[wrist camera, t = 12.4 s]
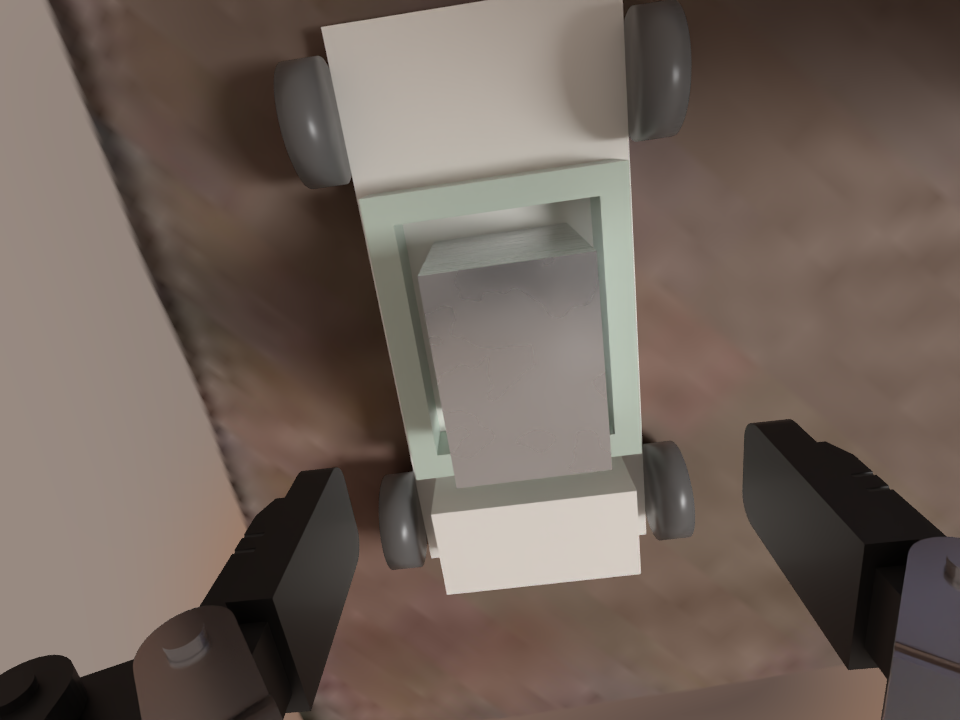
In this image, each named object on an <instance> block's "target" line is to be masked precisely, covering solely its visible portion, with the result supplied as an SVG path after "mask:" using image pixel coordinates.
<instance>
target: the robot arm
mask: <svg viewBox="0 0 960 720" xmlns="http://www.w3.org/2000/svg"><path fill="white" fill-rule="evenodd" d="M742 492H743V503H744V507H745V511H746V514H747V517H748V520H749V522H750V524H751V525H752V527H753V529H754V530H755V532H756V533H757V535H758V536H759V538H760V539H761V540H762V542H763V543H764V545H765V546H766V548H767V549H768V551H769V552H770V554H771V555H772V557H773V558H774V560H775V561H776V563H777V564H778V566H779V567H780V569H781V570H782V572H783V573H784V575H785V576H786V578H787V579H788V581H789V582H790V584H791V585H792V587H793V588H794V590H795V591H796V593H797V594H798V596H799V597H800V599H801V600H802V602H803V603H804V605H805V606H806V608H807V609H808V611H809V612H810V614H811V615H812V617H813V618H814V620H815V621H816V623H817V624H818V626H819V627H820V629H821V630H822V632H823V633H824V635H825V636H826V638H827V639H828V641H829V642H830V644H831V645H832V647H833V648H834V650H835V651H836V652H837V654H838V655H839V657H840V658H841V660H842V661H843V663H844V664H845V666H846V667H847V669H848V670H853V669H866V668H879V669H880V670H881V671H882V672H883V674H884V675H885V677H886V678H887V684H886V691H885V697H884V703H883V709H882V716H881V720H960V538H955V537H947V536H945V535H944V534H943V533H942V532H941V531H940V530H939V529H937V528H936V527H935V526H934V525H933V524H932V523H931V522H929V521H928V520H927V519H926V518H925V517H924V516H923V515H921V514H920V513H919V512H918V511H917V510H916V509H915V508H913V507H912V506H911V505H910V504H909V503H908V502H907V501H906V500H904V499H903V498H902V497H901V496H900V495H899V494H898V493H896V492H895V491H894V490H890V489H889V486H888V485H887V484H886V483H885V482H884V481H883V480H882V479H880V478H879V477H878V476H877V475H873V472H872V471H871V470H870V469H869V468H868V467H867V466H866V465H865V464H863V463H862V462H861V461H860V460H859V459H858V458H857V457H855V456H854V455H853V454H851V453H849V452H847V451H844V450H842V449H840V448H838V447H836V446H834V445H832V444H830V443H828V442H816V441H815V440H814V439H813V438H812V437H811V436H810V435H808V434H807V433H806V432H805V431H804V430H803V429H802V428H801V427H800V426H799V425H798V424H797V423H796V422H794V421H793V420H791V419H786V420H776V421H767V422H758V423H750V424H748V425H747V427H746V430H745V435H744V461H743V490H742ZM244 535H245V537H244V538H242V539H241V541H240V542H239V544H238V545H237V547H236V549H235V554H232V555H231V557H230V558H229V560H228V562H227V563H226V565H225V566H224V568H223V570H222V571H221V573H220V574H219V576H218V578H217V579H216V581H215V582H214V584H213V586H212V587H211V589H210V591H209V592H208V594H207V595H206V597H205V599H204V600H203V602H202V603H201V605H200V607H198V608H193V609H191V610H188V611H185V612H183V613H181V614H179V615H177V616H175V617H173V618H171V619H169V620H168V621H167V622H165V623H164V624H162V625H161V626H160V627H158V628H157V629H156V630H155V631H153V632H152V633H151V634H150V636H148V637H147V638H146V640H145V641H144V642H143V643H142V645H141V646H140V648H139V649H138V651H137V653H136V656H135V658H134V659H133V660H130V661H127V662H125V663H122V664H119V665H116V666H113V667H110V668H107V669H104V670H101V671H98V672H95V673H92V674H89V675H86V676H83V677H79V675H78V673H77V671H76V669H75V667H74V666H73V664H72V662H71V660H70V659H68V658H67V657H64V656H61V655H48V656H43V657H38V658H35V659H32V660H29V661H27V662H24V663H22V664H19V665H17V666H16V667H13V668H11V669H9V670H8V671H6V672H4V673H3V674H1V675H0V720H283V718H284V716H285V713H291V712H304V711H311V709H312V705H313V702H314V699H315V696H316V693H317V690H318V686H319V683H320V680H321V677H322V674H323V670H324V667H325V664H326V661H327V658H328V655H329V651H330V648H331V645H332V642H333V639H334V635H335V632H336V629H337V626H338V623H339V620H340V616H341V613H342V610H343V607H344V604H345V600H346V597H347V594H348V591H349V588H350V585H351V581H352V578H353V575H354V572H355V569H356V565H357V562H358V557H359V535H358V530H357V526H356V522H355V518H354V514H353V510H352V506H351V502H350V498H349V495H348V491H347V487H346V483H345V479H344V476H343V473H342V471H341V470H340V469H339V468H337V467H336V468H326V469H317V470H308V471H301V472H300V473H299V474H298V476H297V477H296V479H295V481H294V483H293V484H292V486H291V488H290V490H289V491H288V493H287V495H286V497H285V498H277V499H275V500H274V501H273V502H271V503H270V504H269V505H268V506H267V507H266V508H264V509H263V510H262V511H261V512H260V513H259V514H257V515H256V516H255V518H254V520H253V521H252V523H251V524H250V526H249V528H248V529H247V531H246V532H245V534H244Z"/></svg>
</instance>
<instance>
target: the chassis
mask: <svg viewBox="0 0 960 720" xmlns="http://www.w3.org/2000/svg"><path fill="white" fill-rule="evenodd" d="M321 30H322V34H323V39H324V44H325V49H326V54H327V58H328V63H329V67H328V65H327V63H326V62H325V60H324V59H323V58H322V57H320V56H313V57H306V58H300V59H294V60H288V61H281V62H279V63H278V64H277V66H276V68H275V73H274V96H275V105H276V111H277V116H278V121H279V125H280V129H281V133H282V137H283V140H284V143H285V146H286V149H287V152H288V155H289V157H290V160H291V162H292V164H293V166H294V168H295V170H296V172H297V174H298V176H299V178H300V179H301V180H302V182H303V183H304V184H305V185H306V186H307V187H308V188H310V189H317V188H324V187H331V186H338V185H344V184H348V183H349V182H350V180H351V175H352V179H353V183H354V188H355V193H356V198H357V203H358V207H359V212H360V217H361V222H362V227H363V231H364V236H365V241H366V246H367V251H368V256H369V260H370V265H371V270H372V275H373V280H374V284H375V289H376V294H377V299H378V304H379V308H380V313H381V318H382V323H383V328H384V332H385V337H386V342H387V347H388V352H389V356H390V361H391V366H392V371H393V376H394V380H395V385H396V390H397V395H398V400H399V405H400V409H401V414H402V419H403V424H404V429H405V433H406V438H407V443H408V448H409V453H410V457H411V462H412V467H413V471H412V472H404V473H396V474H387V475H385V476H384V477H383V480H382V483H381V487H380V494H379V527H380V536H381V543H382V548H383V553H384V556H385V559H386V562H387V564H388V566H389V568H390V569H392V570H397V569H406V568H415V567H422V566H423V565H424V562H425V557H426V548H427V539H428V544H429V549H430V554H431V558H437V557H440V562H441V566H442V571H443V576H444V581H445V586H446V591H447V595H450V594H459V593H468V592H478V591H487V590H496V589H505V588H515V587H524V586H533V585H543V584H552V583H561V582H570V581H580V580H589V579H598V578H608V577H617V576H626V575H635V574H641V567H640V546H639V535H644V534H646V517H645V512H646V516H647V519H648V522H649V525H650V527H651V530H652V532H653V534H654V536H655V537H656V539H657V540H668V539H677V538H686V537H691V536H692V534H693V531H694V526H695V508H694V498H693V492H692V487H691V482H690V478H689V474H688V470H687V467H686V464H685V461H684V459H683V456H682V454H681V452H680V450H679V448H678V446H677V445H676V444H675V443H674V442H673V441H664V442H655V443H647V444H642V426H641V404H640V381H639V359H638V336H637V313H636V291H635V268H634V245H633V223H632V200H631V178H630V155H629V136H630V137H631V139H632V140H633V141H635V142H637V141H644V140H651V139H657V138H664V137H671V136H674V135H676V134H677V133H678V132H679V130H680V128H681V126H682V124H683V122H684V119H685V115H686V111H687V107H688V102H689V95H690V85H691V44H690V36H689V29H688V24H687V20H686V16H685V13H684V11H683V8H682V6H681V5H680V3H679V2H678V1H677V0H664V1H658V2H652V3H645V4H639V5H633V6H631V7H630V8H629V9H628V11H627V14H626V16H625V20H624V19H623V0H485V1H479V2H473V3H467V4H461V5H455V6H448V7H442V8H436V9H430V10H424V11H417V12H411V13H405V14H399V15H393V16H387V17H380V18H374V19H368V20H362V21H356V22H350V23H343V24H337V25H331V26H325V27H321ZM329 68H330V69H329ZM560 223H568V224H569V225H570V226H571V227H572V228H573V229H574V230H575V231H576V232H577V233H578V234H579V235H580V236H581V237H582V238H584V239H585V240H586V241H587V242H588V243H589V244H590V245H591V246H592V247H593V248H594V249H595V250H596V251H597V263H598V277H599V291H600V305H601V319H602V333H603V347H604V361H605V375H606V389H607V403H608V417H609V431H610V444H611V458H612V470H606V471H597V472H589V473H581V474H573V475H564V476H556V477H548V478H540V479H531V480H523V481H515V482H507V483H498V484H490V485H482V486H474V487H466V488H457V487H456V482H455V476H454V471H453V466H452V460H451V455H450V449H449V444H448V439H447V433H446V428H445V422H444V417H443V412H442V406H441V401H440V395H439V390H438V385H437V379H436V374H435V368H434V363H433V357H432V352H431V347H430V341H429V336H428V330H427V325H426V320H425V314H424V309H423V303H422V298H421V293H420V287H419V282H418V274H419V272H420V270H421V268H422V266H423V264H424V262H425V260H426V258H427V256H428V254H429V252H430V249H431V247H432V245H433V243H434V242H436V241H442V240H449V239H456V238H463V237H470V236H477V235H484V234H491V233H498V232H504V231H511V230H518V229H525V228H532V227H539V226H546V225H553V224H560Z"/></svg>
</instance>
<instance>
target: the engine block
mask: <svg viewBox="0 0 960 720" xmlns="http://www.w3.org/2000/svg"><path fill="white" fill-rule="evenodd" d="M418 282H419V287H420V293H421V298H422V303H423V309H424V314H425V320H426V325H427V330H428V336H429V341H430V347H431V352H432V357H433V363H434V368H435V374H436V379H437V385H438V390H439V395H440V401H441V406H442V412H443V417H444V422H445V428H446V433H447V439H448V444H449V449H450V455H451V460H452V466H453V471H454V476H455V482H456V487H457V488H466V487H474V486H482V485H490V484H498V483H507V482H515V481H523V480H531V479H540V478H548V477H556V476H564V475H573V474H581V473H589V472H597V471H606V470H612V458H611V444H610V431H609V417H608V403H607V389H606V375H605V361H604V347H603V333H602V319H601V305H600V291H599V277H598V263H597V251H596V250H595V249H594V248H593V247H592V246H591V245H590V244H589V243H588V242H587V241H586V240H585V239H584V238H582V237H581V236H580V235H579V234H578V233H577V232H576V231H575V230H574V229H573V228H572V227H571V226H570V225H569V224H568V223H560V224H553V225H546V226H539V227H532V228H525V229H518V230H511V231H504V232H498V233H491V234H484V235H477V236H470V237H463V238H456V239H449V240H442V241H436V242H434V243H433V245H432V247H431V249H430V252H429V254H428V256H427V258H426V260H425V262H424V264H423V266H422V268H421V270H420V272H419V274H418Z"/></svg>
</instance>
